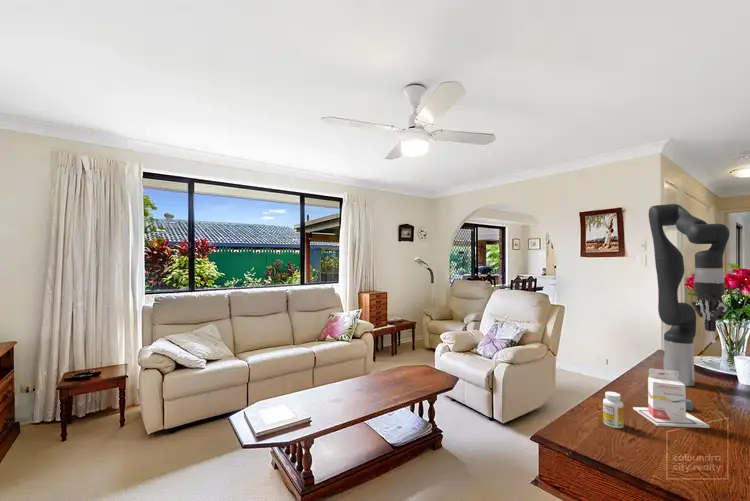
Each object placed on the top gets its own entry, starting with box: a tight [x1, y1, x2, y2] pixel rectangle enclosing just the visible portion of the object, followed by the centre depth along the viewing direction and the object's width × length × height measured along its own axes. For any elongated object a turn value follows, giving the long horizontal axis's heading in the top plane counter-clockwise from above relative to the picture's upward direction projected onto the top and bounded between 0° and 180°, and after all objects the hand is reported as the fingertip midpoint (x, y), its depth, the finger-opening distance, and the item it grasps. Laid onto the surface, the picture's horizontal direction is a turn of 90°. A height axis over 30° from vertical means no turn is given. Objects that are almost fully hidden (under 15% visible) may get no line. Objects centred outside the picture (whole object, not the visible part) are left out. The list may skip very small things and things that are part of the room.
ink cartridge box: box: [647, 368, 687, 422], centre depth 113 cm, size 9×5×15 cm, turn 67°
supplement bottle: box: [602, 391, 625, 429], centre depth 110 cm, size 5×5×10 cm
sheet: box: [632, 406, 711, 429], centre depth 113 cm, size 12×15×1 cm
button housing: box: [686, 398, 694, 411], centre depth 123 cm, size 7×7×3 cm
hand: (710, 330), depth 120 cm, fingers closed
